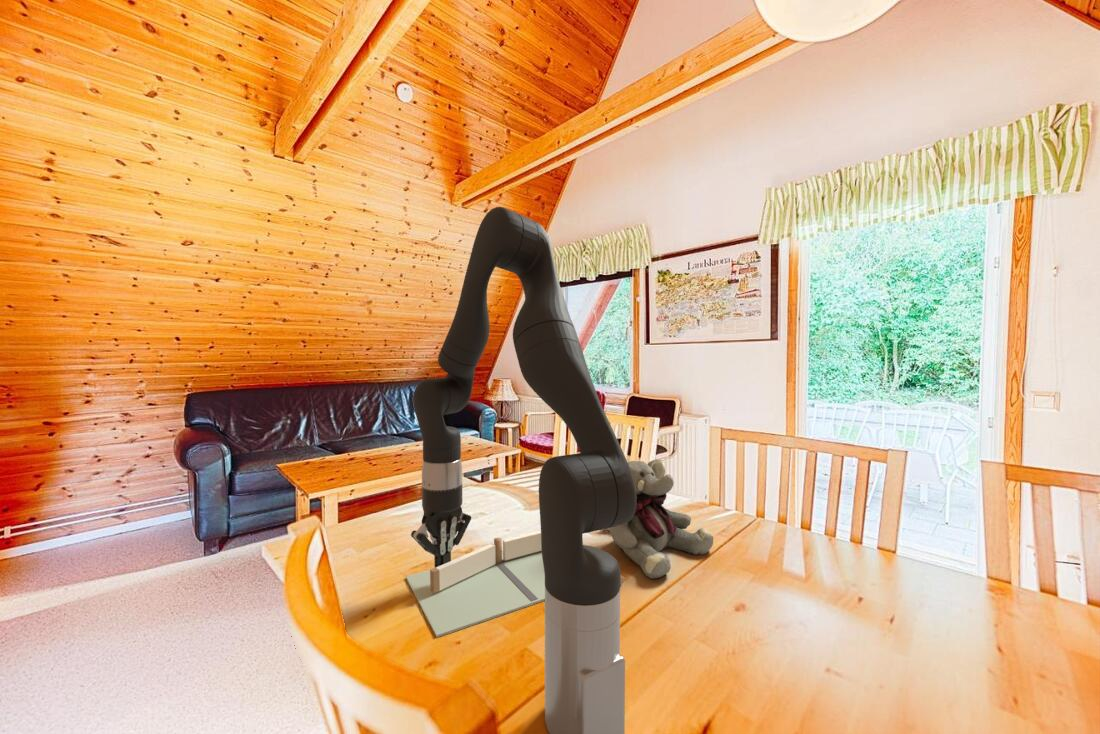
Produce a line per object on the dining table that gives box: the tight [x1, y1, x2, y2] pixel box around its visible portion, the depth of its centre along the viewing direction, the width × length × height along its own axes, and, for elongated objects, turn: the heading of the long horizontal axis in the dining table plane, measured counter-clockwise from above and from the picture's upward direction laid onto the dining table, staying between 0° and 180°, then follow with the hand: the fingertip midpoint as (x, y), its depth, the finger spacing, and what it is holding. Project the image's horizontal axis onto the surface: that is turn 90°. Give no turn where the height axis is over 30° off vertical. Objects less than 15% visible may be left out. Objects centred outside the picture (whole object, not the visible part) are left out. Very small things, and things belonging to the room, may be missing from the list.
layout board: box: [405, 550, 545, 638], centre depth 88 cm, size 21×33×1 cm, turn 121°
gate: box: [429, 543, 496, 593], centre depth 87 cm, size 15×1×4 cm, turn 138°
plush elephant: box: [603, 458, 714, 580], centre depth 102 cm, size 27×22×21 cm
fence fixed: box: [493, 530, 542, 564], centre depth 97 cm, size 2×16×6 cm, turn 121°
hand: (442, 570), depth 86 cm, fingers closed
